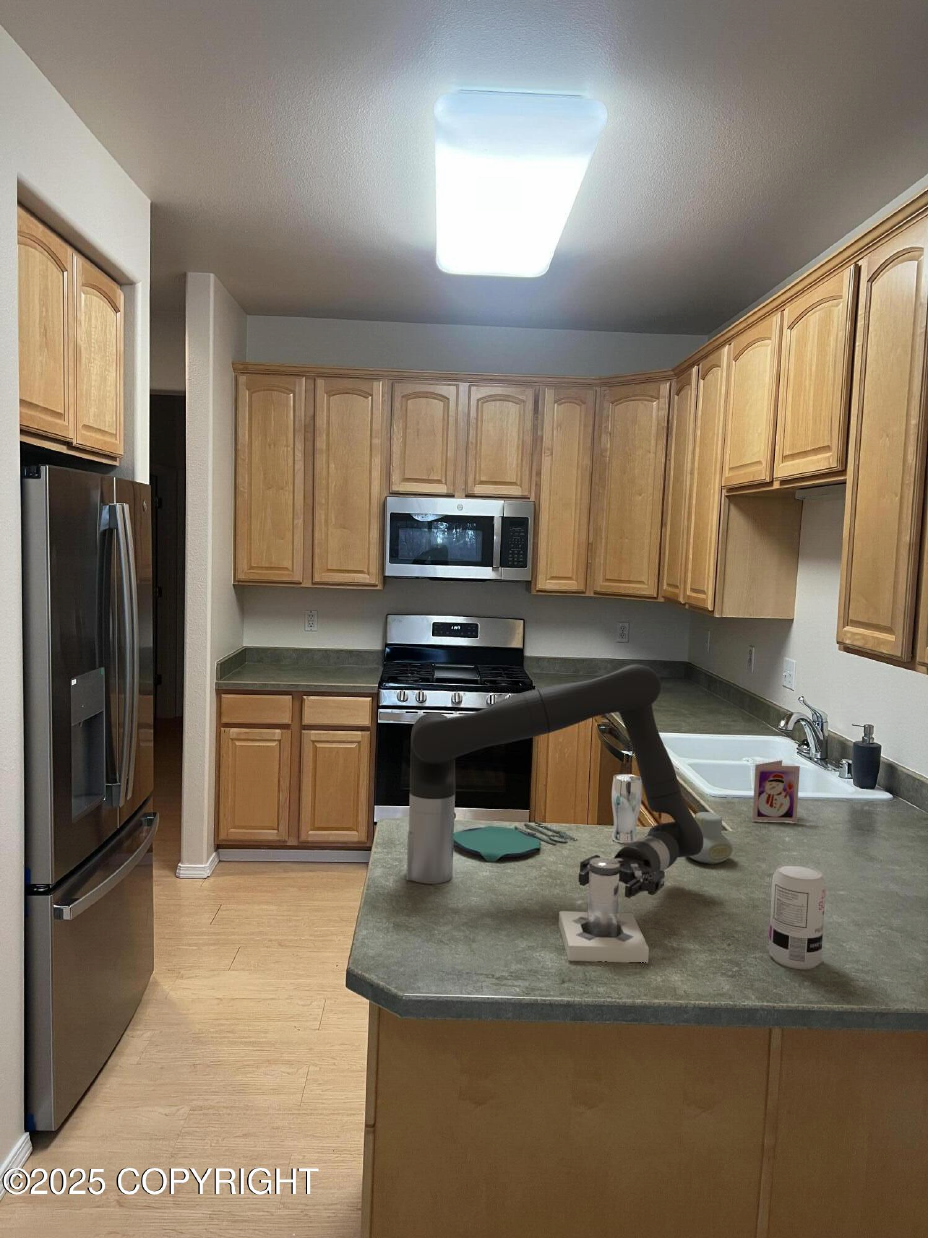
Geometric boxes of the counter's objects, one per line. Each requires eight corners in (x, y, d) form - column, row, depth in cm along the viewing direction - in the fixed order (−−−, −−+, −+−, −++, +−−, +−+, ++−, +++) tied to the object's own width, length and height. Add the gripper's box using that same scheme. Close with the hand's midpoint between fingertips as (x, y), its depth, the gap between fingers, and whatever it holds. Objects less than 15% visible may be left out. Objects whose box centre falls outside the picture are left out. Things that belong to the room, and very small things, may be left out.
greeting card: (753, 823, 222) (756, 765, 221) (743, 815, 229) (746, 759, 228) (797, 824, 222) (801, 767, 221) (786, 816, 229) (789, 760, 228)
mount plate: (568, 960, 141) (568, 945, 140) (558, 925, 155) (559, 911, 154) (648, 963, 141) (648, 948, 140) (631, 927, 155) (632, 913, 154)
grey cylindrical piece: (588, 949, 145) (591, 867, 144) (584, 936, 150) (587, 857, 149) (619, 950, 145) (622, 868, 144) (613, 937, 150) (617, 858, 149)
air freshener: (712, 851, 199) (714, 808, 198) (738, 862, 191) (740, 818, 191) (674, 856, 194) (676, 812, 193) (699, 868, 187) (701, 823, 186)
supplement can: (760, 949, 147) (764, 863, 146) (806, 949, 148) (811, 863, 147) (781, 971, 139) (786, 880, 138) (830, 971, 140) (836, 880, 139)
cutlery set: (434, 842, 198) (435, 833, 198) (533, 824, 216) (533, 815, 216) (488, 869, 183) (488, 859, 182) (589, 848, 201) (590, 838, 200)
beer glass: (639, 846, 200) (642, 782, 200) (609, 843, 202) (611, 779, 201) (639, 837, 207) (642, 775, 206) (610, 834, 209) (612, 773, 208)
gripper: (608, 833, 164) (567, 855, 151) (680, 849, 156) (643, 874, 143) (606, 872, 164) (565, 897, 151) (678, 890, 156) (641, 918, 143)
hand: (603, 886), depth 147 cm, fingers open, 8 cm apart
